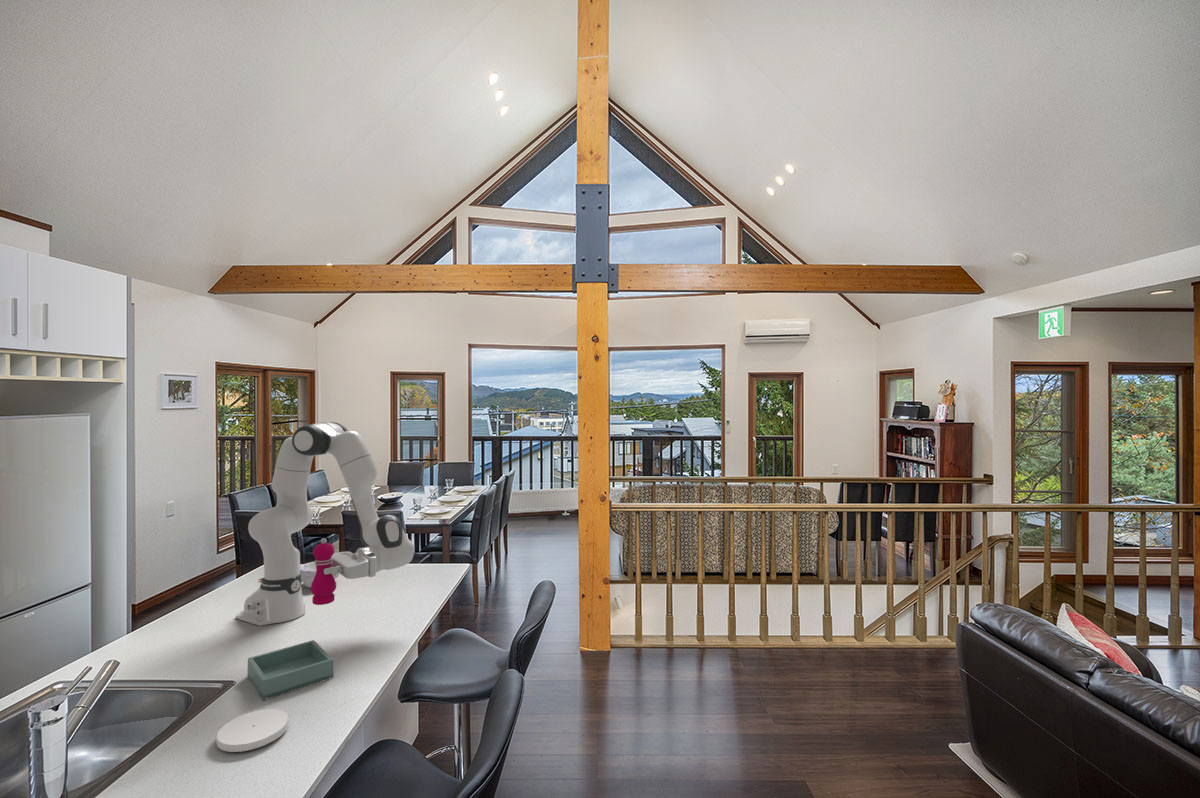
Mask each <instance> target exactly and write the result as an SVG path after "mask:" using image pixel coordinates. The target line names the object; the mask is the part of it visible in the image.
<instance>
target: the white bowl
mask: <svg viewBox="0 0 1200 798" xmlns="http://www.w3.org/2000/svg"><path fill="white" fill-rule="evenodd" d="M316 569H317V568H316V564H315V561H311V562H307V563H304V564H302V565H300V573H301V576H302V578H301V579H302V583H303V584H304V586H305V587H307V588H309V589H311V585H312V582H313V580H314V577H315V575H316ZM332 575H333V577H334V579H335V580H336V579H337V578H339V577H340V573H339V574H332Z"/></svg>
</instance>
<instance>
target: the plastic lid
mask: <svg viewBox="0 0 1200 798" xmlns="http://www.w3.org/2000/svg"><path fill="white" fill-rule="evenodd" d="M289 721H290V720H289V715H288V713H287V712H286V711H283V710H281V709H274V708H272V709H271V708H269V709H268V708H267V709H261V710H260V709H259V710H255V711H251V712H247V713H245V714H242V715H240V716H237V717H235V718H233V719H231V720H229V722H227V723H225V724H224V725H222V726H221V728H219V730H218V731H217V733H216V736H215V737H216V746H217V748H218V749H219V750H221V751H223V752H228V753H235V752H237V753H239V752H240V753H242V752H248V751H252V750H255V749H259V748H262V747H264V746H266V745H268V744H271V742H274V741H276V740H277V739H279V738H281V736H283V734H285V732H286V731H287V730H288V728H289V725H290V724H289Z"/></svg>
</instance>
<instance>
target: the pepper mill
mask: <svg viewBox="0 0 1200 798" xmlns="http://www.w3.org/2000/svg"><path fill="white" fill-rule="evenodd" d="M334 553H335V547H334V546H333V544H332V543H329V542H328V540H327V538H325V537H323V538H321V540H320V543H319V544H317V545H315V547H314V548H313V551H312V555H313V558H315V560H314V562H315V564H316V568H317V569H316V575H315V577H314V580H313V582H312V585H311V588H310V592H311V594H312V601H311V602H312V604H313V605H316V606H323V605H328V604H331V603H334V601H335V593H334V592H335V591H336V590H337V582H336V578H335V579H334V577H333V575H332V574H326V575H325V574H324V573H323V568H326V567H331V563H332V562H333V561H332V559H333V558H332V555H333V554H334Z"/></svg>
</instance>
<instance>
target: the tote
mask: <svg viewBox="0 0 1200 798" xmlns="http://www.w3.org/2000/svg"><path fill="white" fill-rule="evenodd" d="M248 677H249V678H248ZM332 677H333V678H334V659H333V657H332V656H331V655H329V654H328V653H327V651H326V650H324V649H323V648H322V647H321V646H320V644H318V643H317V642H316V641H315V639H312V640H309V641H305V642H302V643H299V644H295V645H291V646H287V647H284V648H279V649H277V650H273V651H269V652H265V653H262V654H257V655H255V656H250V657H248V658H247V678H248V679H249V681H250V680H251V681H250V683H251V684H252V683H253V684H252V685H253V687H254V686H255V687H254V689H255V690H256V689H257V690H256V691H258V692H259V693H258V692H257V693H258V694H260V695H259V696H260V697H262V698H263V699H266V698H269V699H271V698H270V697H272V698H274V697H273V696H275V697H277V696H276V695H278V696H280V694H281V695H283V694H282V693H284V694H286V692H287V693H290V692H292V691H291V690H293V691H296V690H295V689H297V690H299V689H298V688H300V689H302V688H301V687H303V688H305V687H304V686H306V687H308V686H307V685H309V686H311V685H310V684H312V685H315V684H317V682H318V683H321V682H324V681H327V680H330V679H329V678H331V679H333V678H332ZM326 679H327V680H326ZM323 680H324V681H323ZM320 681H321V682H320ZM314 683H315V684H314ZM289 691H290V692H289ZM262 698H261V699H262ZM263 699H262V700H263ZM266 700H267V699H266Z"/></svg>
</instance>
